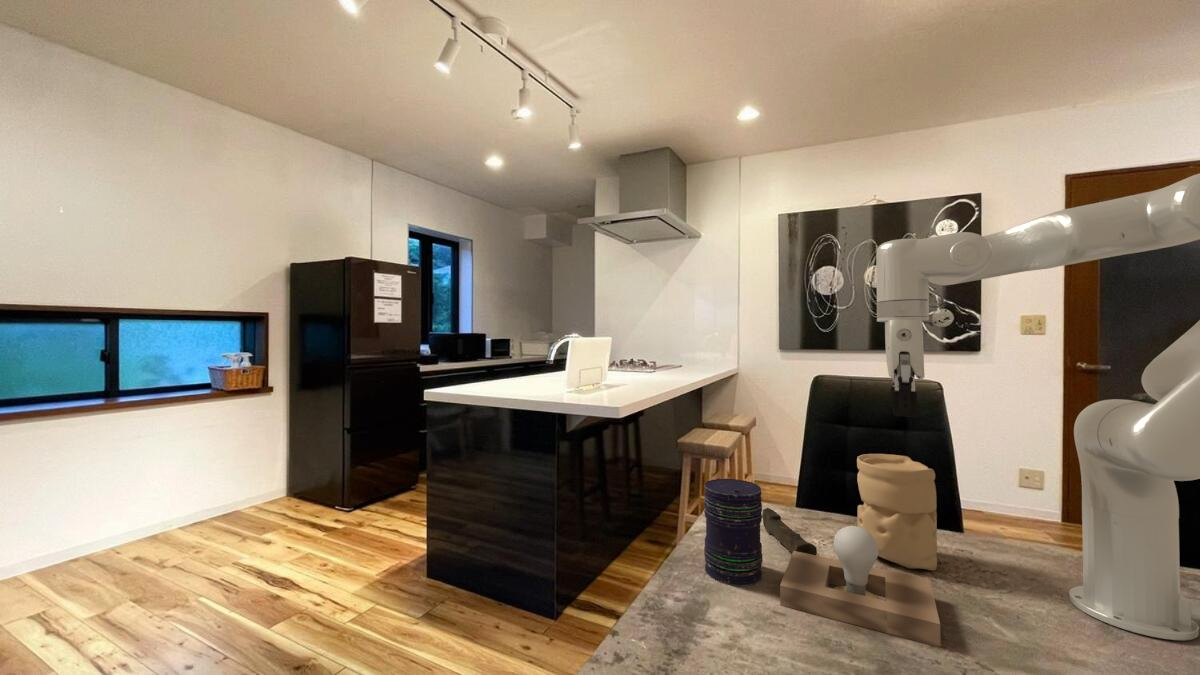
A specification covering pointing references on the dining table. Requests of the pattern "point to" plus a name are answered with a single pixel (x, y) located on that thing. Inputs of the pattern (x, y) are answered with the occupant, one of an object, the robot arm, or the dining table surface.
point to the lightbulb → (856, 556)
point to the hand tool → (785, 533)
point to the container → (899, 508)
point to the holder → (862, 598)
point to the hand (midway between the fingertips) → (903, 412)
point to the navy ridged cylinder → (733, 531)
